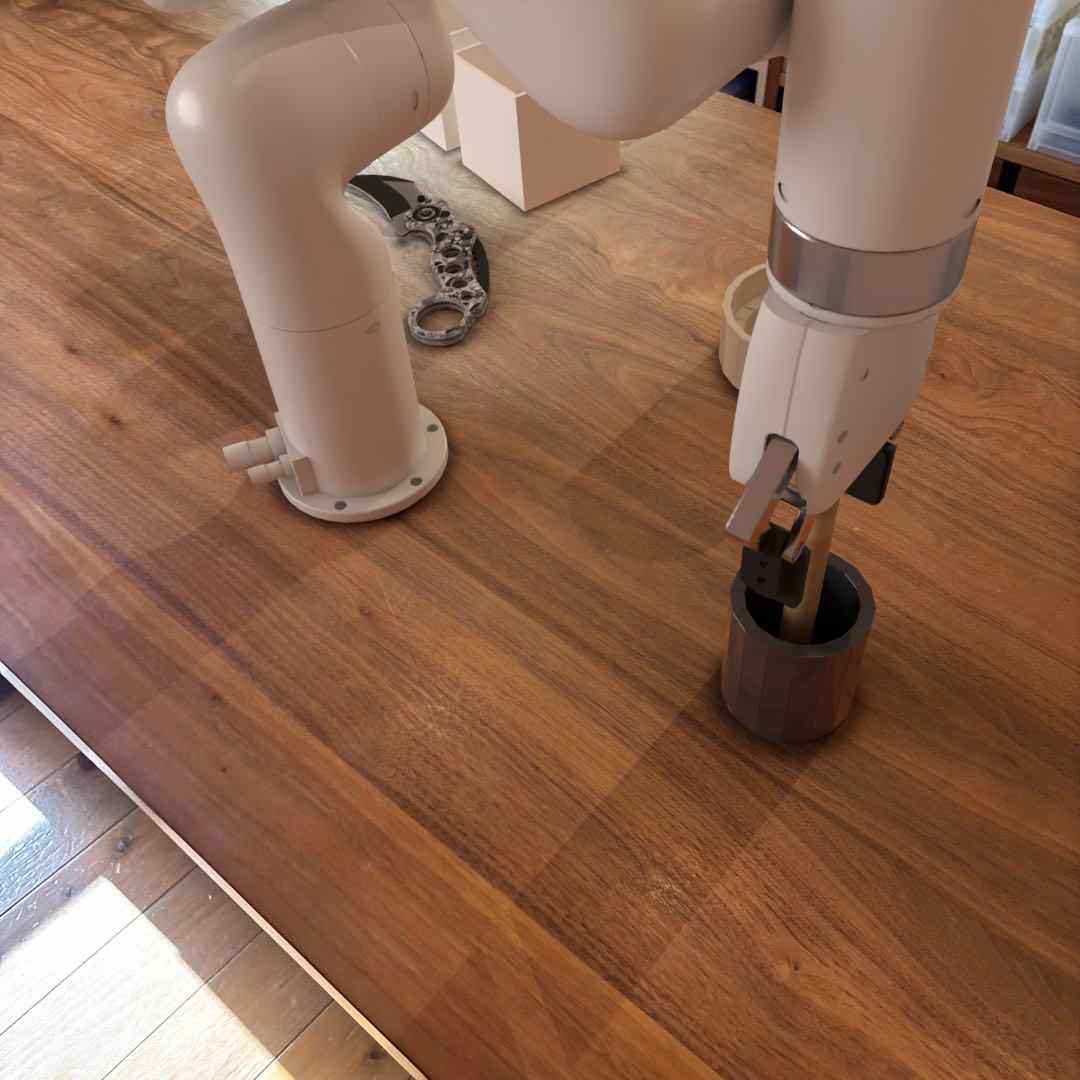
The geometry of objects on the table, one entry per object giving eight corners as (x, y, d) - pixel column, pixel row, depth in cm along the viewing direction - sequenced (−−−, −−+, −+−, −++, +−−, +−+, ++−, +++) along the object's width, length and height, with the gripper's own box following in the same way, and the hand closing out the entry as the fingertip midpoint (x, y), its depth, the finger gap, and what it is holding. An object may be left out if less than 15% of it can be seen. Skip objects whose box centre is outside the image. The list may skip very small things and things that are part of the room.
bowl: (767, 435, 81) (774, 377, 77) (692, 340, 89) (694, 283, 84) (912, 388, 83) (926, 329, 79) (826, 299, 91) (835, 241, 87)
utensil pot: (759, 766, 63) (774, 676, 56) (698, 665, 68) (706, 572, 61) (875, 720, 65) (903, 627, 58) (808, 624, 70) (826, 529, 63)
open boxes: (393, 110, 117) (374, 3, 109) (480, 77, 120) (469, -29, 112) (524, 211, 102) (515, 97, 94) (619, 170, 106) (618, 57, 98)
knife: (332, 173, 107) (431, 144, 108) (336, 187, 108) (434, 158, 109) (404, 348, 89) (521, 311, 90) (408, 362, 90) (524, 326, 91)
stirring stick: (780, 703, 65) (818, 491, 52) (765, 680, 66) (798, 466, 53) (807, 693, 66) (852, 479, 52) (791, 669, 67) (831, 455, 53)
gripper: (884, 117, 49) (831, 415, 62) (658, 321, 40) (652, 617, 53) (1053, 165, 45) (959, 470, 59) (845, 400, 37) (790, 694, 50)
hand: (813, 538), depth 56 cm, fingers open, 7 cm apart
